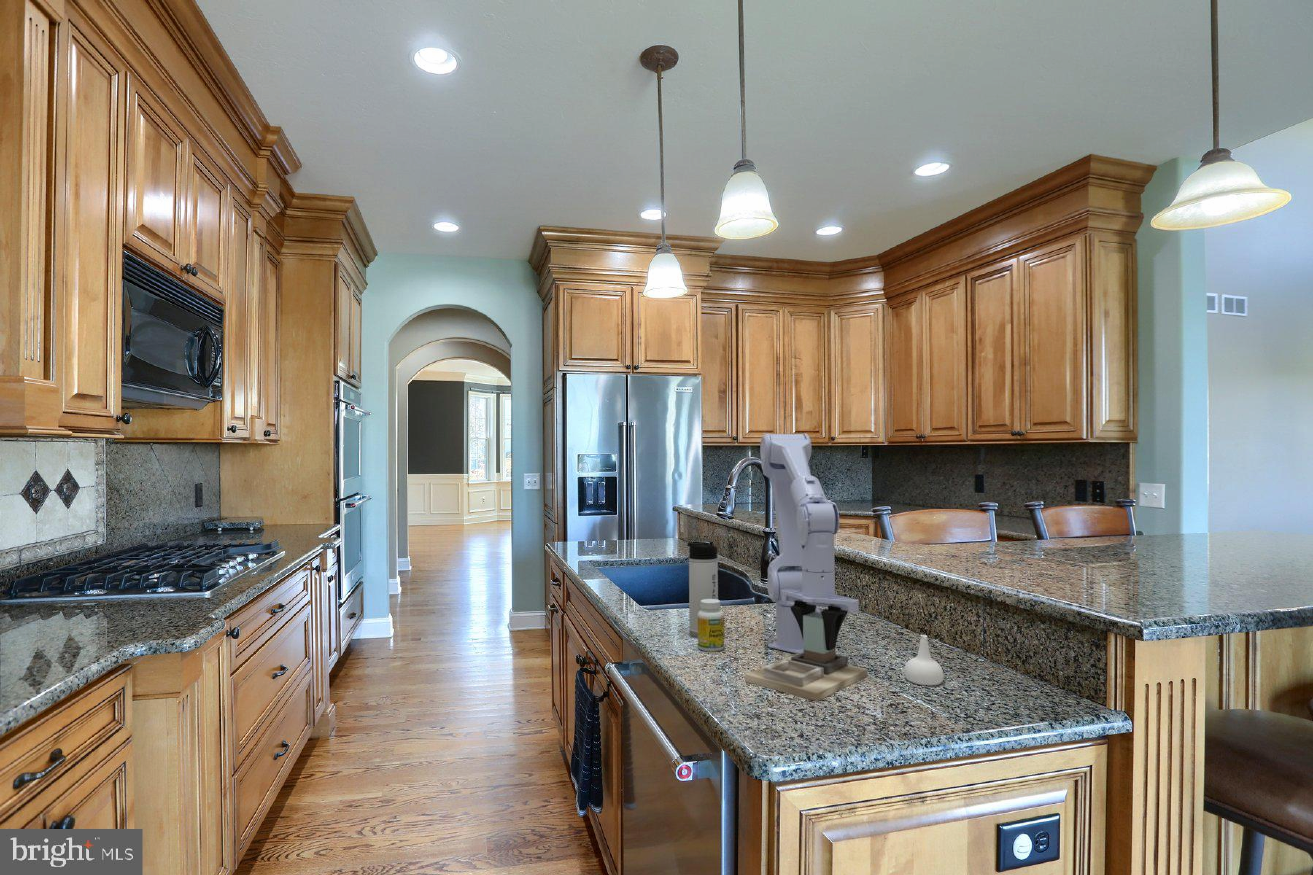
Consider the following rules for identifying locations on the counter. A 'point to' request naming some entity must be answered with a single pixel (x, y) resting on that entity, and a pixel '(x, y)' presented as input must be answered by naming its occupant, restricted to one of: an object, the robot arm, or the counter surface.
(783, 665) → the board
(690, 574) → the travel mug
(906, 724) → the counter surface
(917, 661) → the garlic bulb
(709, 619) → the supplement bottle
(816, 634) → the banded peg
